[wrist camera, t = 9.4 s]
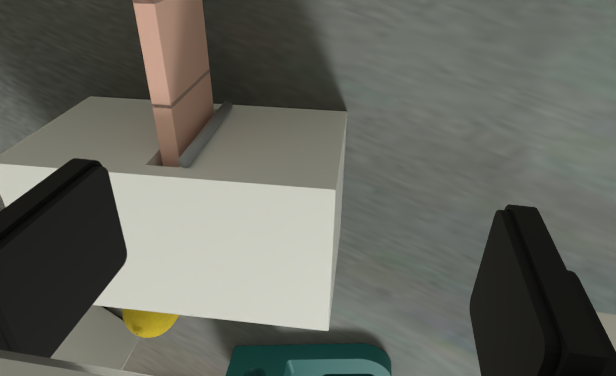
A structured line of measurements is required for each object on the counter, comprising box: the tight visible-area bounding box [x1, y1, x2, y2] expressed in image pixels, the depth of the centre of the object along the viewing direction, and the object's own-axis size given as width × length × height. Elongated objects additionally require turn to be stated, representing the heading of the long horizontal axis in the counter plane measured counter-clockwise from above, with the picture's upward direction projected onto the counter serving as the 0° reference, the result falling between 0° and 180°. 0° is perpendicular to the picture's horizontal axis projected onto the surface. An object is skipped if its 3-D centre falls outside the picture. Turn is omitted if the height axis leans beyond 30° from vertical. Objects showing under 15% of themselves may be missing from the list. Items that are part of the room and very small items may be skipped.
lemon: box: [122, 308, 179, 338], centre depth 45 cm, size 6×6×8 cm
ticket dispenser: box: [0, 96, 347, 331], centre depth 35 cm, size 13×22×12 cm, turn 90°
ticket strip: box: [132, 0, 214, 167], centre depth 28 cm, size 18×1×8 cm, turn 0°
